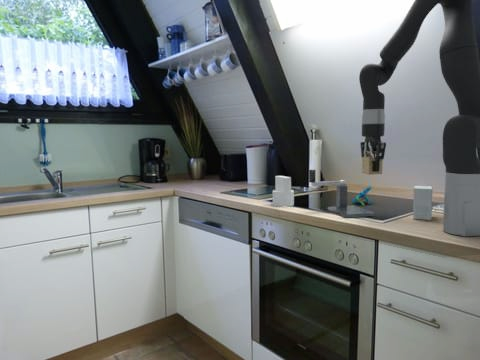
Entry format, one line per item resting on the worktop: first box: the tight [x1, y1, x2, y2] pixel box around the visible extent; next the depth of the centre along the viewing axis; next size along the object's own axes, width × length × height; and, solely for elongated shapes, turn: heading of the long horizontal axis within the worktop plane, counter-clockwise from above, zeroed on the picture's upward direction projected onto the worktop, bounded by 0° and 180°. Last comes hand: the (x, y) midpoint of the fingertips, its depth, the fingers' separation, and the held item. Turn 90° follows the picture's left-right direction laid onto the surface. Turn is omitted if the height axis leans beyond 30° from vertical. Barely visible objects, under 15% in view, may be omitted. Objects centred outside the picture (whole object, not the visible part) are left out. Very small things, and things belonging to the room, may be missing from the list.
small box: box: [412, 185, 433, 221], centre depth 121 cm, size 8×6×10 cm
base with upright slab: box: [272, 175, 295, 207], centre depth 151 cm, size 9×9×12 cm
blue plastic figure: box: [351, 186, 373, 206], centre depth 149 cm, size 11×6×10 cm
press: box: [327, 185, 375, 219], centre depth 132 cm, size 16×11×9 cm
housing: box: [361, 155, 384, 176], centre depth 127 cm, size 5×5×7 cm
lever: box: [308, 169, 347, 187], centre depth 136 cm, size 15×3×6 cm, turn 99°
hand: (371, 170), depth 127 cm, fingers closed on housing, 5 cm apart
